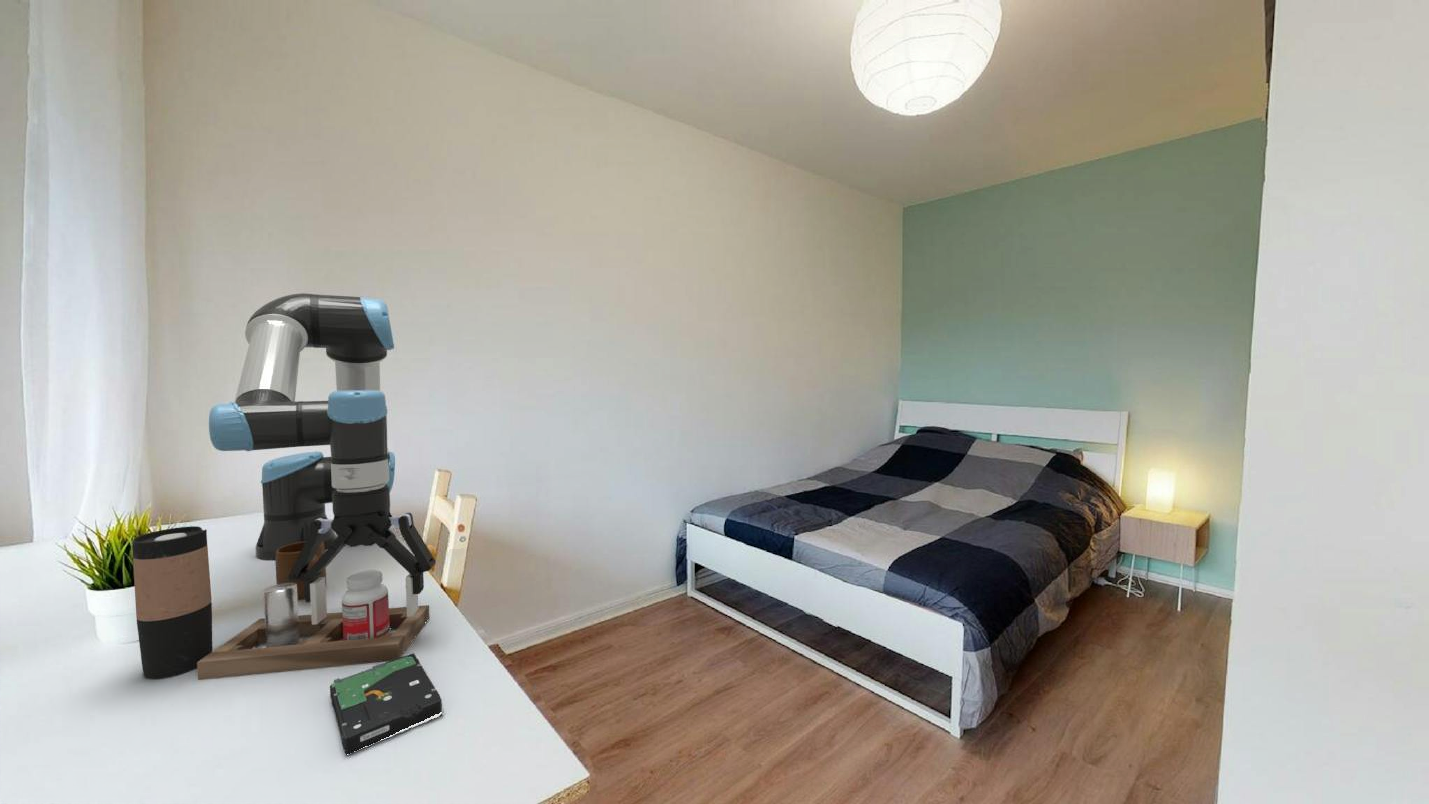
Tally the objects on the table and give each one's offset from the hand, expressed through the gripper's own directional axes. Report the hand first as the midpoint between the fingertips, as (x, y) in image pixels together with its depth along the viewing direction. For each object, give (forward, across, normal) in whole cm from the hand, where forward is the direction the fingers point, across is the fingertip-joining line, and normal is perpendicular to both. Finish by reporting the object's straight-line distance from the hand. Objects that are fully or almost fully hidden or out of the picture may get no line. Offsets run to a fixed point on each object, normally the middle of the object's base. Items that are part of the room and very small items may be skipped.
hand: (366, 616), depth 82 cm
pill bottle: (+4, 0, 0) cm, 4 cm away
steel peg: (+4, -12, 0) cm, 13 cm away
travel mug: (+4, -25, -2) cm, 25 cm away
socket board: (+4, -6, 0) cm, 7 cm away
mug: (+4, -20, +21) cm, 29 cm away
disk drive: (+5, +10, -18) cm, 21 cm away
